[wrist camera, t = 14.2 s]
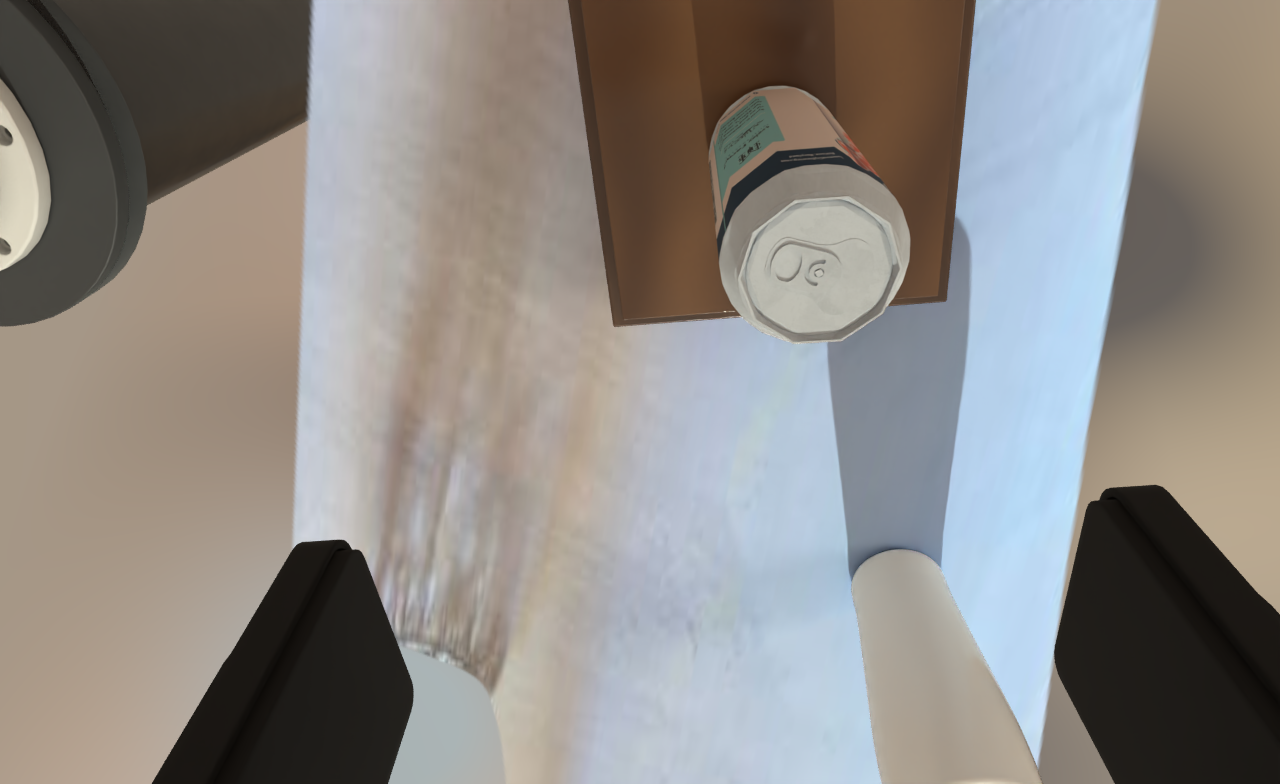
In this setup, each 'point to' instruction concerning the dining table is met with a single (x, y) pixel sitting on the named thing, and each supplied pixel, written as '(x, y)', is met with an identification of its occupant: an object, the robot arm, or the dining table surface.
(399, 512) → the dining table surface
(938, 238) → the walnut block
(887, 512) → the dining table surface
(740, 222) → the beer can
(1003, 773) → the drinking glass
